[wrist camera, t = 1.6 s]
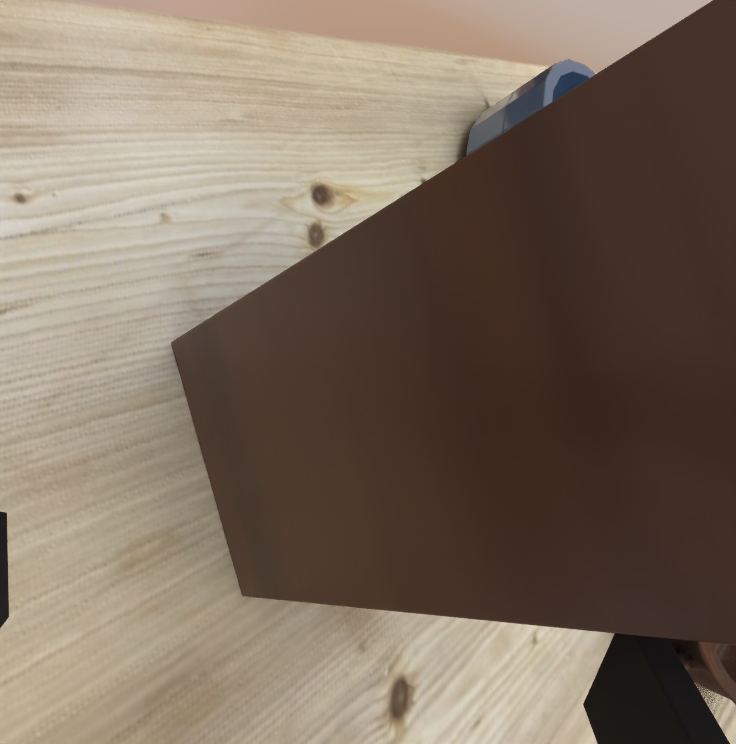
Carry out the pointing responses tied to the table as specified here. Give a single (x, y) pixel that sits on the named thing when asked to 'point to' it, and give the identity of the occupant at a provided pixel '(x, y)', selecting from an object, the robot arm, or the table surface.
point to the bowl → (527, 101)
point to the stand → (507, 374)
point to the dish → (709, 665)
